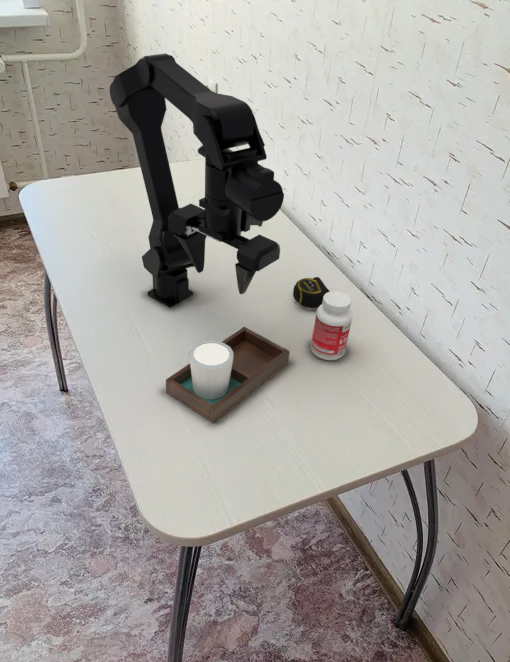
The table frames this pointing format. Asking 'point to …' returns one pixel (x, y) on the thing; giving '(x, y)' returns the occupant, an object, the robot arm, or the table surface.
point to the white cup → (211, 368)
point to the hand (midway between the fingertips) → (221, 282)
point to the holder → (233, 374)
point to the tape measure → (310, 292)
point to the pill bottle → (332, 326)
